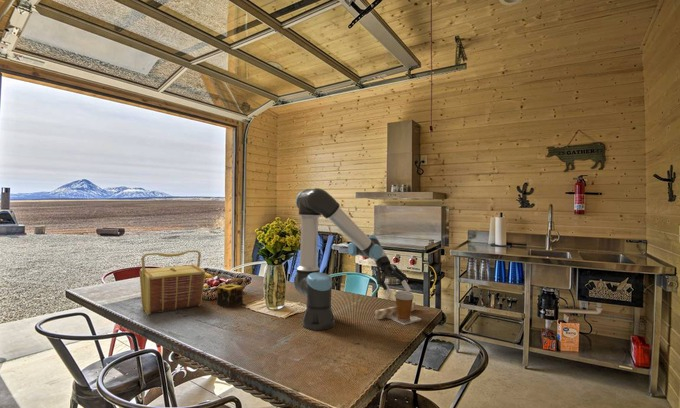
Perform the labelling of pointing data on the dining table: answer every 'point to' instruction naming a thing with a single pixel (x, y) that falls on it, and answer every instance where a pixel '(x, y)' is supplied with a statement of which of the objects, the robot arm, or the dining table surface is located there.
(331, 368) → the dining table surface
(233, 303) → the candle
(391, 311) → the jamb strip
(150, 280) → the picnic basket
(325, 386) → the dining table surface
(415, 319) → the white napkin
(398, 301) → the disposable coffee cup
